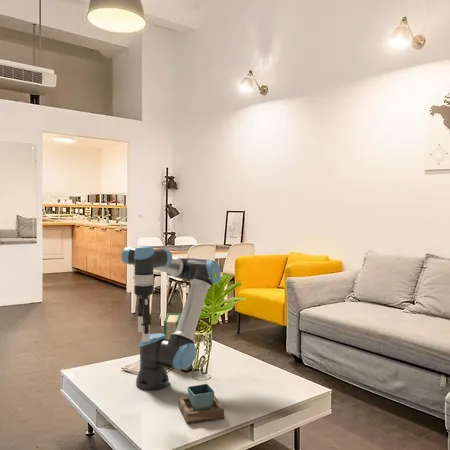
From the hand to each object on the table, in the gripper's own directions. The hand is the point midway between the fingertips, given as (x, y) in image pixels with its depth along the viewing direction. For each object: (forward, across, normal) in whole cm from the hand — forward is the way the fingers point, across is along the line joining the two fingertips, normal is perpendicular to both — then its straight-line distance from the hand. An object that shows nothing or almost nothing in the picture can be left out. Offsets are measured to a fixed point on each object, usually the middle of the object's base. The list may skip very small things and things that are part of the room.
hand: (143, 336), depth 181 cm
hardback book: (+31, -54, +23) cm, 66 cm away
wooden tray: (+31, +9, +22) cm, 39 cm away
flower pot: (+30, +9, +22) cm, 38 cm away
